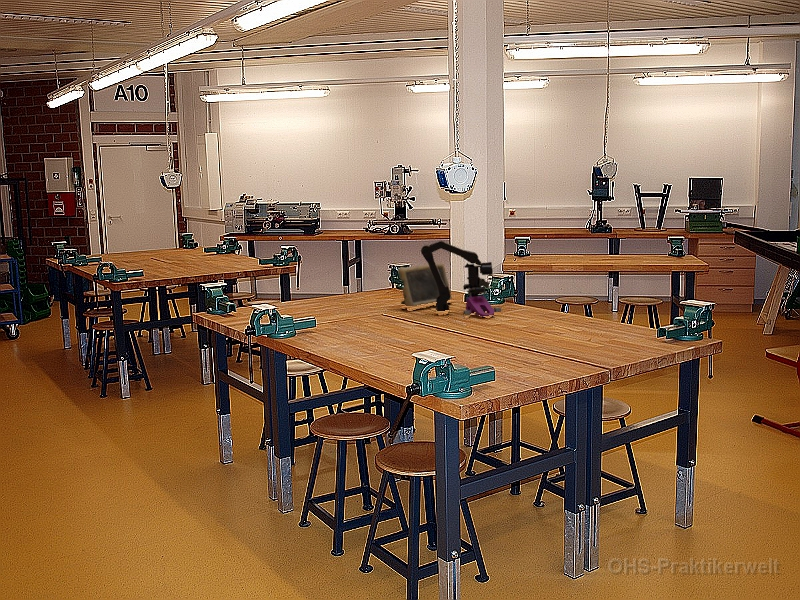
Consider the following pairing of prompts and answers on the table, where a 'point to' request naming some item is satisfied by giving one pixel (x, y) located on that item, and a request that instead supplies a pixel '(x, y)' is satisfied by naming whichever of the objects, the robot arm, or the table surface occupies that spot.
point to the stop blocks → (468, 312)
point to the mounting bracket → (479, 306)
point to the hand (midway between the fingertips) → (474, 304)
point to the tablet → (421, 284)
